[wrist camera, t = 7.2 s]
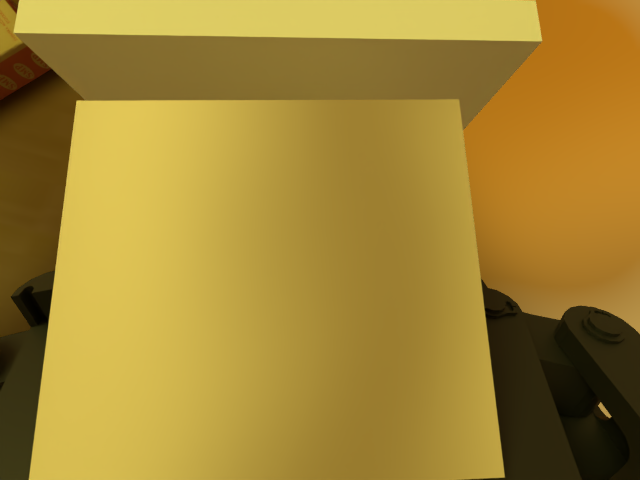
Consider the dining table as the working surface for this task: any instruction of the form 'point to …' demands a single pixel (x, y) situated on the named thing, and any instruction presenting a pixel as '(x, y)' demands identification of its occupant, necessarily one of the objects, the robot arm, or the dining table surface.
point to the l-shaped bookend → (283, 48)
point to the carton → (15, 54)
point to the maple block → (267, 296)
